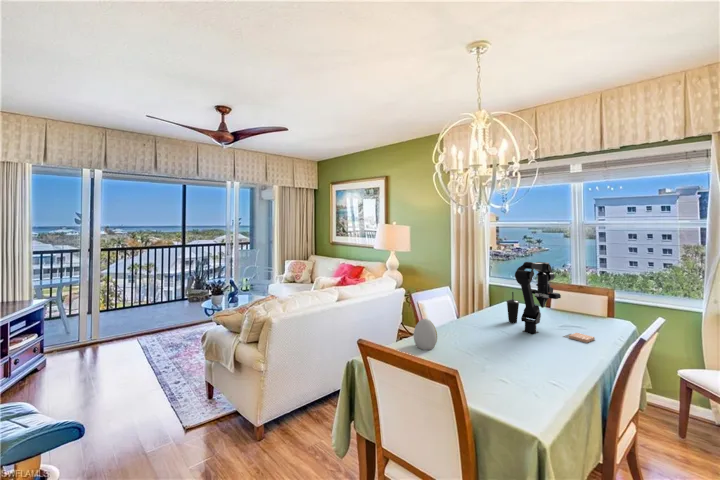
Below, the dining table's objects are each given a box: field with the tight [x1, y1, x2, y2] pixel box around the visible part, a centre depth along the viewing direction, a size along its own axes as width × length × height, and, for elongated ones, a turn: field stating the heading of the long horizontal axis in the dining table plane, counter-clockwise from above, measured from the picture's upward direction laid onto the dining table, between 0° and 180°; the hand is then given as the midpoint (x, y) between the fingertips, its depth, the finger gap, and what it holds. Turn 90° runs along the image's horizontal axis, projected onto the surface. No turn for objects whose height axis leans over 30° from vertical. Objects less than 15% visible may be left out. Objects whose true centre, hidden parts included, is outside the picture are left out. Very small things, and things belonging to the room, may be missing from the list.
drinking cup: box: [506, 291, 520, 324], centre depth 215 cm, size 8×8×20 cm
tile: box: [568, 332, 596, 344], centre depth 181 cm, size 8×2×9 cm
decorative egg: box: [413, 318, 438, 351], centre depth 174 cm, size 12×12×15 cm
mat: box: [562, 333, 596, 344], centre depth 182 cm, size 9×13×1 cm
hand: (542, 307), depth 204 cm, fingers closed
